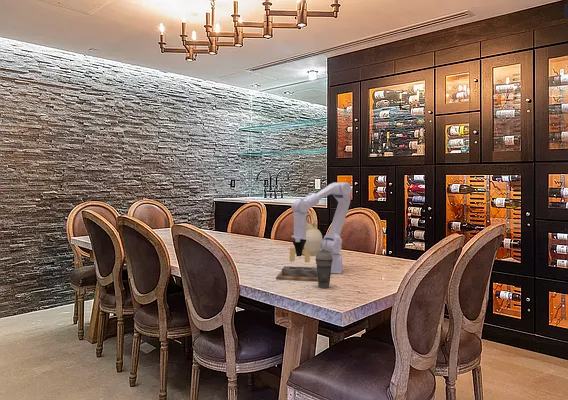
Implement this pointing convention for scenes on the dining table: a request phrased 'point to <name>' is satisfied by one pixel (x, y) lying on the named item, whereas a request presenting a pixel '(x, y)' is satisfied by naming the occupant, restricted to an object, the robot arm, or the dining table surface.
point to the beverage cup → (324, 267)
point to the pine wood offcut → (304, 251)
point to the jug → (312, 236)
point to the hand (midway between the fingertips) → (299, 255)
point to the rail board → (298, 273)
